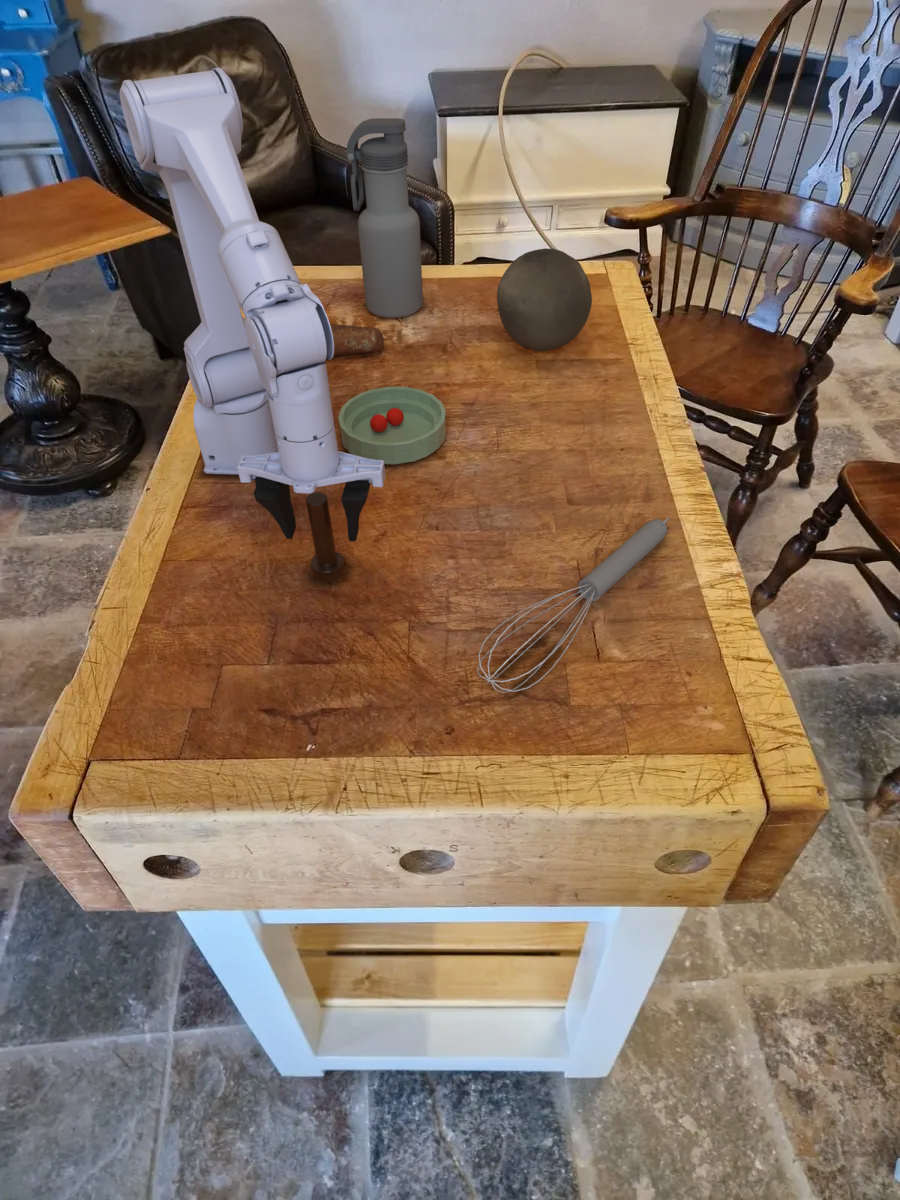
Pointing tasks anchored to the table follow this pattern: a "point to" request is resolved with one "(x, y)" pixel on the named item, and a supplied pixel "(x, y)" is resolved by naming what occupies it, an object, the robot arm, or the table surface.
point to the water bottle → (386, 220)
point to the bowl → (399, 442)
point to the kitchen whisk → (589, 589)
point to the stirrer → (323, 540)
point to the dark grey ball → (544, 299)
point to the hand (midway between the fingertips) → (322, 534)
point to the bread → (356, 339)
